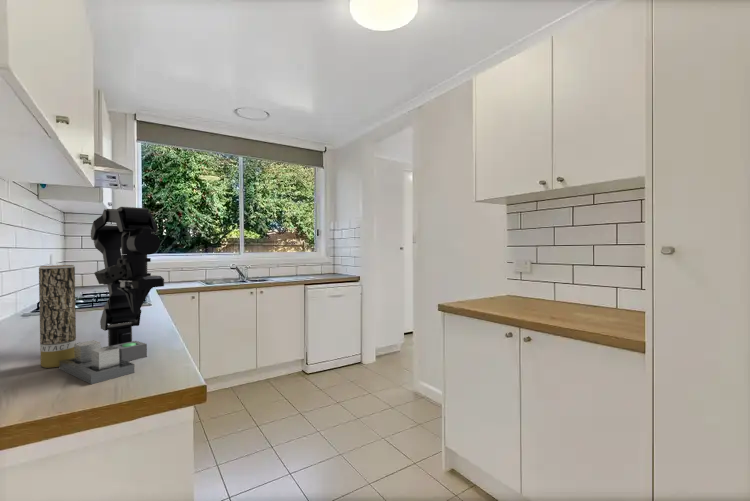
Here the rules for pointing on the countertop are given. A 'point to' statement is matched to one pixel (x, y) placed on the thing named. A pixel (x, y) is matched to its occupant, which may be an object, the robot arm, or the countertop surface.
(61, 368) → the rectangular frame
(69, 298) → the paper tube
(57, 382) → the countertop surface
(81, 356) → the block
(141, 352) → the grey hollow square block
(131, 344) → the button
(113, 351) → the block
